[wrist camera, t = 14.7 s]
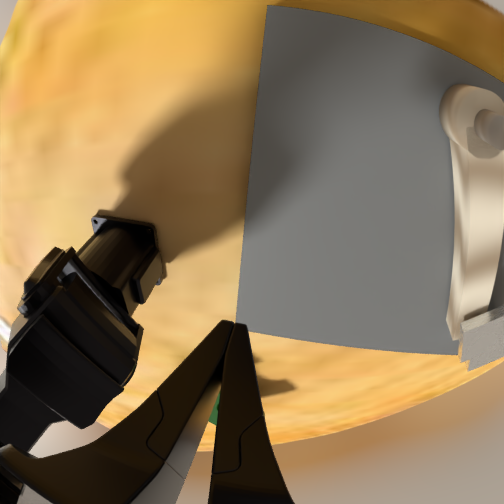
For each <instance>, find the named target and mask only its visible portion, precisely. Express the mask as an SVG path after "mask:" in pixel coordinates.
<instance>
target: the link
mask: <svg viewBox="0 0 504 504" xmlns="http://www.w3.org/2000/svg"><path fill="white" fill-rule="evenodd" d="M439 118H440V123H441V126H442V128H443V130H444V132H445V134H446V135H447V136H448V137H449V139H450V147H451V156H452V167H453V180H454V206H455V229H454V254H453V268H452V279H451V288H450V297H449V304H448V311H447V317H446V321H447V324H448V327H449V330H450V333H451V337H452V340H453V341H454V340H458V339H459V337H460V323H461V322H464V321H466V320H469V319H471V318H474V317H476V316H479V315H481V314H484V313H486V312H487V310H488V306H489V303H490V299H491V295H492V291H493V286H494V282H495V277H496V273H497V268H498V262H499V257H500V251H501V244H502V237H503V229H504V102H503V101H502V99H501V98H500V97H499V96H498V95H496V94H495V93H493V92H492V91H489V90H486V89H482V88H479V87H475V86H471V85H467V84H456V85H454V86H452V87H450V88H449V89H448V90H447V91H446V92H445V93H444V95H443V96H442V98H441V101H440V106H439Z"/></svg>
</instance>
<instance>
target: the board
mask: <svg viewBox="0 0 504 504" xmlns="http://www.w3.org/2000/svg"><path fill="white" fill-rule="evenodd" d="M456 84H467V85H471V86H475V87H479V88H482V89H486V90H489V91H492V92H493V93H495V94H496V95H498V96H499V97H500V98H501V99H502V101H503V102H504V83H503V82H501V81H499V80H498V79H496V78H495V77H493V76H491V75H490V74H488V73H486V72H485V71H483V70H481V69H479V68H478V67H476V66H474V65H472V64H470V63H469V62H467V61H465V60H463V59H461V58H459V57H457V56H455V55H453V54H451V53H449V52H446V51H444V50H442V49H440V48H438V47H435V46H433V45H431V44H428V43H426V42H424V41H421V40H419V39H416V38H413V37H411V36H408V35H405V34H403V33H400V32H397V31H394V30H391V29H388V28H385V27H381V26H378V25H375V24H371V23H368V22H364V21H360V20H356V19H352V18H348V17H344V16H339V15H334V14H330V13H324V12H319V11H313V10H306V9H299V8H292V7H283V6H272V5H268V6H267V14H266V23H265V31H264V40H263V49H262V58H261V67H260V76H259V85H258V95H257V104H256V114H255V123H254V133H253V143H252V152H251V162H250V172H249V183H248V193H247V203H246V214H245V224H244V235H243V245H242V256H241V267H240V278H239V290H238V301H237V312H236V322H238V323H243V324H246V325H247V327H248V331H251V332H256V333H261V334H267V335H273V336H278V337H284V338H290V339H296V340H303V341H310V342H316V343H323V344H331V345H338V346H346V347H355V348H364V349H373V350H383V351H395V352H407V353H422V354H441V355H458V350H459V340H454V341H453V340H452V337H451V333H450V330H449V327H448V324H447V321H446V317H447V311H448V304H449V297H450V288H451V279H452V268H453V254H454V229H455V206H454V180H453V167H452V156H451V147H450V139H449V137H448V136H447V135H446V134H445V132H444V130H443V128H442V126H441V123H440V118H439V106H440V101H441V98H442V96H443V95H444V93H445V92H446V91H447V90H448V89H449V88H450V87H452V86H454V85H456ZM502 305H504V229H503V237H502V244H501V251H500V257H499V262H498V268H497V273H496V277H495V282H494V286H493V291H492V295H491V299H490V303H489V306H488V310H487V312H488V311H491V310H493V309H495V308H498V307H500V306H502Z"/></svg>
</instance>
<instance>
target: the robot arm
mask: <svg viewBox="0 0 504 504" xmlns="http://www.w3.org/2000/svg"><path fill="white" fill-rule="evenodd" d="M96 220H97V221H98V222H97V221H96ZM91 221H92V226H93V230H94V235H93V236H92V237H91V238H90V239H89V240H88V241H87V242H86V243H85V244H84V245H83V246H82V247H81V248H80V250H79V251H78V252H77V253H76V251H75V250H74V248H73V247H72V246H71V247H70V248H68V249H67V250H66V251H64V250H63V249H59V248H57V247H54V248H53V249H52V250H51V251H50V252H49V253H48V254H47V255H46V256H45V257H44V258H43V259H42V260H41V262H40V263H39V264H38V265H37V266H36V268H35V269H34V270H33V271H32V273H31V274H30V275H29V277H28V278H27V279H26V281H25V282H24V293H23V295H22V297H21V301H20V303H19V304H18V306H17V309H18V310H19V312H20V313H21V314H20V315H19V316H18V317H17V319H16V320H15V321H14V323H13V324H12V328H11V333H10V338H9V343H8V351H7V363H6V369H5V370H4V371H3V373H2V374H1V376H0V504H175V503H176V501H177V499H178V496H179V494H180V491H181V489H182V486H183V484H184V481H185V480H184V479H186V476H187V474H188V471H189V469H190V466H191V463H192V461H193V459H194V456H195V453H196V451H197V448H198V446H199V443H200V441H201V438H202V436H203V433H204V431H205V428H206V425H207V423H208V420H209V418H210V415H211V412H212V410H213V407H214V405H215V402H216V399H217V397H218V394H219V391H220V398H219V407H218V416H217V425H216V434H215V444H214V454H213V464H212V475H211V482H210V492H209V498H208V504H295V503H294V502H293V500H292V498H291V496H290V494H289V491H288V489H287V487H286V484H285V482H284V479H283V476H282V474H281V471H280V469H279V466H278V463H277V461H276V458H275V456H274V452H273V449H272V446H271V443H270V439H269V435H268V431H267V427H266V422H265V417H264V416H263V415H264V412H263V407H262V402H261V397H260V392H259V386H258V381H257V376H256V371H255V365H254V360H253V355H252V349H251V344H250V338H249V333H248V327H247V325H246V324H243V323H238V322H236V323H234V322H232V321H228V320H221V321H220V322H219V323H218V324H217V325H216V327H215V328H214V329H213V330H212V331H211V332H210V333H209V334H208V335H207V336H206V337H205V338H204V340H203V341H202V342H201V343H200V344H199V345H198V346H197V347H196V348H195V349H194V350H193V351H192V352H191V353H190V355H189V356H188V357H187V358H186V359H185V360H184V361H183V362H182V363H181V364H180V365H179V366H178V367H177V368H176V369H175V370H174V371H173V373H172V374H171V375H170V376H169V377H168V378H167V379H166V380H165V381H164V382H163V383H162V384H161V385H160V386H159V387H158V388H157V390H155V391H154V392H153V393H152V394H151V395H150V396H149V397H148V398H147V399H146V400H145V401H144V402H143V403H142V404H141V405H140V406H139V407H138V408H137V409H136V410H135V411H133V412H132V413H131V414H130V415H129V416H127V417H126V418H125V419H124V420H122V421H121V422H120V423H118V424H117V425H116V426H114V427H113V428H112V429H111V430H109V431H108V432H107V433H105V434H104V435H103V436H101V437H100V438H98V439H97V440H95V441H94V442H92V443H90V444H88V445H85V446H82V447H79V448H76V449H73V450H69V451H66V452H62V453H59V454H55V455H51V456H48V457H44V458H37V457H35V456H33V455H31V454H29V453H28V452H29V451H30V450H31V449H32V447H33V446H34V445H35V443H36V442H37V441H38V440H39V438H40V437H41V436H42V435H43V433H44V432H45V431H46V430H47V428H48V427H49V426H50V425H51V424H53V423H57V422H62V421H66V420H68V421H69V422H70V423H72V424H73V425H75V426H76V427H78V428H80V429H84V428H86V427H88V426H90V425H92V424H93V423H94V422H95V421H96V419H97V418H98V416H99V415H100V413H101V412H102V411H103V409H104V408H105V407H106V405H107V404H108V403H109V402H110V401H111V400H112V399H113V398H115V397H116V396H117V395H119V394H120V393H122V392H123V391H124V386H125V385H126V384H127V383H128V382H129V381H130V379H131V378H132V376H133V374H134V372H135V369H136V366H137V360H138V355H139V350H140V345H141V340H142V335H143V330H144V328H143V327H142V326H141V325H140V324H137V323H136V322H135V320H134V319H133V318H132V315H133V313H134V311H135V310H136V308H137V306H138V304H144V303H145V302H146V300H147V298H148V297H149V295H150V293H151V291H152V290H153V288H154V286H155V285H160V284H161V282H162V273H163V270H162V262H161V254H160V250H159V248H158V242H157V233H156V228H155V226H154V225H153V224H150V223H145V222H139V221H133V220H127V219H120V218H114V217H108V216H102V215H95V216H94V217H92V219H91ZM148 229H150V230H151V231H149V230H148Z"/></svg>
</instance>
